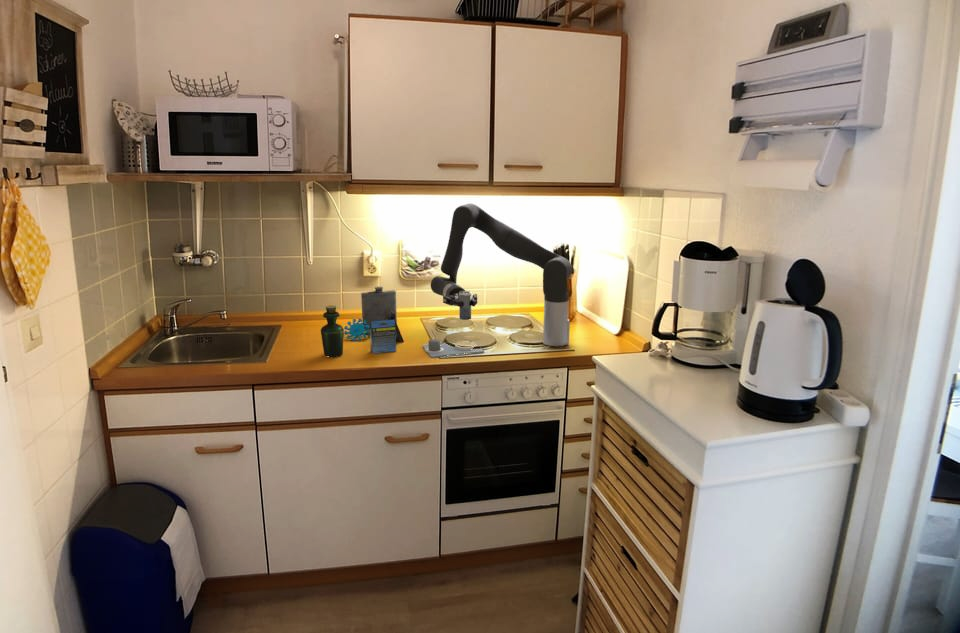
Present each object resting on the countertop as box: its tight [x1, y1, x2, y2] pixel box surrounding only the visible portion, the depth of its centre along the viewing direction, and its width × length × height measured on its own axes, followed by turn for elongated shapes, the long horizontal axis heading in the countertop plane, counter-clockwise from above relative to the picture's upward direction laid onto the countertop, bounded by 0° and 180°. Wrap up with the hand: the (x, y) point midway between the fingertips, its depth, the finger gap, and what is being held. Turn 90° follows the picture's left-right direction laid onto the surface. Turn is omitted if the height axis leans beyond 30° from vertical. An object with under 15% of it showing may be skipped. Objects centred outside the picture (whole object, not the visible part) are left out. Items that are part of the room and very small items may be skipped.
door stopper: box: [382, 310, 405, 344], centre depth 245 cm, size 9×6×12 cm, turn 111°
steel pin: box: [458, 290, 473, 321], centre depth 234 cm, size 4×4×10 cm
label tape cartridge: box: [369, 320, 397, 354], centre depth 232 cm, size 9×4×12 cm, turn 109°
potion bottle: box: [320, 305, 345, 358], centre depth 227 cm, size 8×8×18 cm
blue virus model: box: [343, 317, 370, 342], centre depth 250 cm, size 11×6×10 cm
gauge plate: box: [421, 338, 485, 359], centre depth 236 cm, size 20×14×4 cm
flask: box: [360, 286, 398, 330], centre depth 260 cm, size 4×14×18 cm, turn 111°
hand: (467, 304), depth 231 cm, fingers closed on steel pin, 4 cm apart
